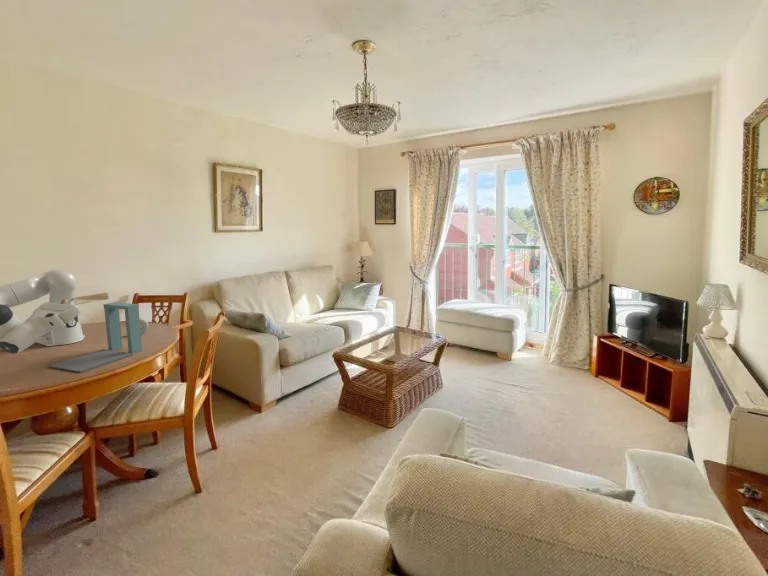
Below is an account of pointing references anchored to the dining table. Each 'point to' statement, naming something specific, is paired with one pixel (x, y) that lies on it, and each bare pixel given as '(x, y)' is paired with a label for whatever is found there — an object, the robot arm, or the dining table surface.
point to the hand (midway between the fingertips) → (72, 299)
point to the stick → (87, 298)
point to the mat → (91, 360)
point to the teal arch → (131, 326)
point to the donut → (144, 325)
